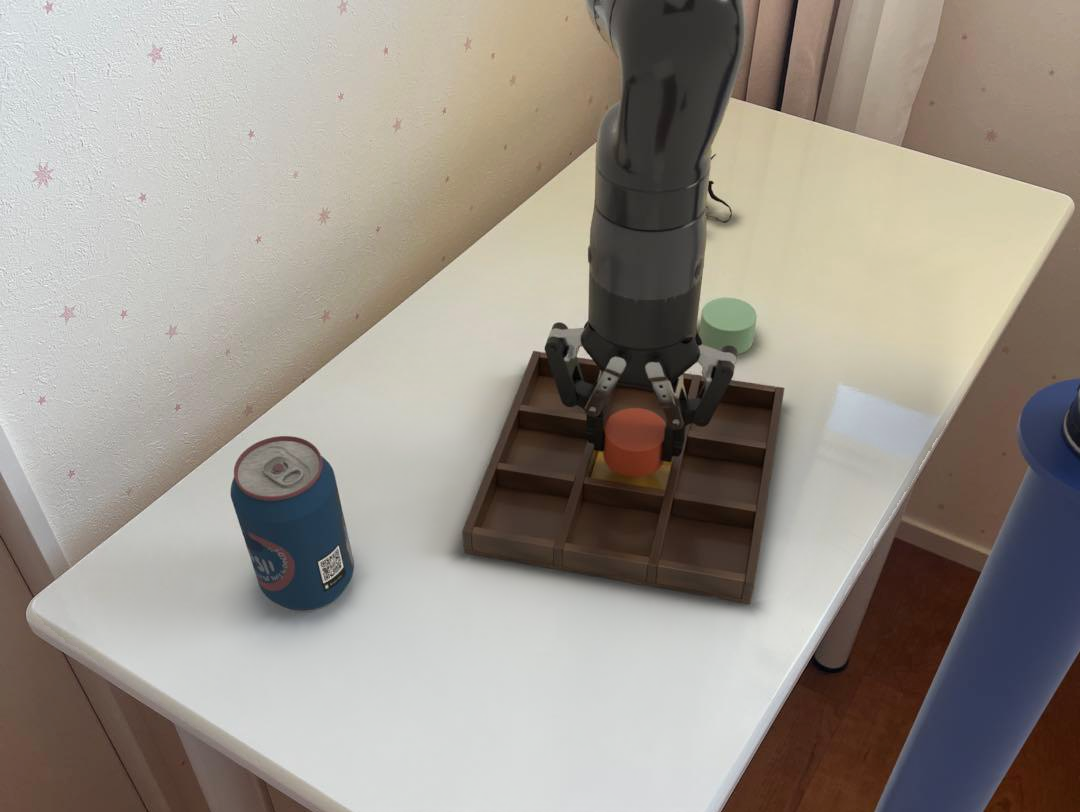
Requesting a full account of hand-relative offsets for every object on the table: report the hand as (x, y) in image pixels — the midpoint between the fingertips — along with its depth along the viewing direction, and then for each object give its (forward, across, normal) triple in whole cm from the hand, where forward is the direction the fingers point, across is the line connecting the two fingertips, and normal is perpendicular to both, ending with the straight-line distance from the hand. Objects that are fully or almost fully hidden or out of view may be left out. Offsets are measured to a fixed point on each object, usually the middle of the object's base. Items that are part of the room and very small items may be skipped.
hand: (634, 448), depth 85 cm
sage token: (+3, -5, -19) cm, 20 cm away
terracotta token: (+1, 0, 0) cm, 1 cm away
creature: (+3, +1, -38) cm, 38 cm away
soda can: (+3, +21, +16) cm, 27 cm away
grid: (+3, 0, 0) cm, 3 cm away
